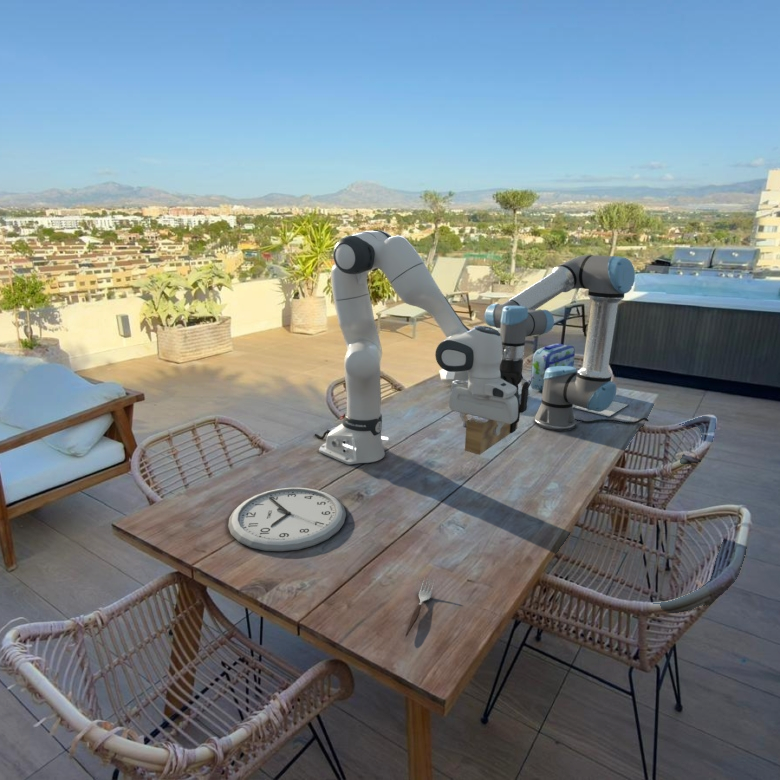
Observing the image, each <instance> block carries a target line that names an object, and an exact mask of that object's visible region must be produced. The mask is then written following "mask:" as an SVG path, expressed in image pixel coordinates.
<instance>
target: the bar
mask: <svg viewBox="0 0 780 780" xmlns="http://www.w3.org/2000/svg"><path fill="white" fill-rule="evenodd" d="M518 423H519V422H518ZM518 423H516V430H517V429H518ZM495 427H496V428H497V427H498V425H497V421H494V420H490V419H486V418H482V417H477V416H473V417H470V418H469V419H468V421H467V423H466V428H465V441H464V451H465V452H469V453H472V454H475V455H478V456H481V455H482V454H483V453H485V452H486V451H487V450H489V449H490V448H492V447H493V446H495V445H496V444H498V443H499V442H501V441H502V440H503V439H505V438H506V437H508V436H509V435H510V434H511V433H510V424H507V423H505V424H504V425H503V426H502V428H501V429H500V434H499V435H498V436H497V435H493V429H494V428H495Z"/></svg>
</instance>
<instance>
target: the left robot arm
mask: <svg viewBox="0 0 780 780" xmlns="http://www.w3.org/2000/svg"><path fill="white" fill-rule="evenodd" d="M332 257H333V262H334V264H333V265H332V267H331V269H330V282H331V283H330V284H331V292H332V298H333V303H334V307H335V312H336V317H337V321H338V326H339V327H340V330H341V333H342V336H343V340H344V343H345V347H346V353H345V355H344V359H343V365H344V379H345V380H344V381H345V389H346V412H345V413H343V414H342V415H340V416H339V420H340V421H341V420H342V423H340V424H339V425H335V426H333V427H331V428H328V429H326V431H324V433H323V434H322V435H319V434H317V433H315V434H314V436H315V437H316V438H318V439H320V440H321V439H325V438H326V439H325V442H324V443H322V445H320V447H319V449H318V452H319V453H320V454H322V455H325V456H327V457H329V458H332V459H334V460H336V461H338V462H341V463H343V464H346V465H356V464H370V463H375V462H378V461H380V460H382V459H383V458H384V457H385V456H386V451H385V449H384V444H383V440H385V441H389V437H388V436H383V435H382V428H383V415H382V413H381V410H382V408H381V405H382V390H381V389H382V388H381V386H382V385H381V364H382V357H383V349H382V344H381V339H380V335H379V332H378V328H377V324H376V320H375V317H374V311H373V310H374V309H373V306H372V300H371V295H370V290H369V285H368V275H369V274H370V272H371V271H372V272H375V271H378V270H380V271H381V272H382V273H383V274H384V276H385V277H386V278H387V281H388V283H389V284H390V286H391V288H392V289H393V291H394V292H395V293H396V295H397V296H398V297H399V298H400V300H402V302H403V303H405V304H406V305H408V306H413V307H416V308H420V309H422V310H424V311H426V312H427V313H428V314H429V315H430V316H431V317H432V318H433V320H434V321H435V323H436V325H437V326H438V327H439V329H440V330H441V331H442V333H443V334H444V336H445V339H444V340H442V341H441V342H440V343H438V345H437V347H436V349H435V354H434V356H435V360H436V363H437V364H438V366H439V367H440V368H441V369H444V370H446V371H449V372H459V371H468V372H469V376H468V382H467V381H461V380H456V381H453V382H452V384H450V396H449V403H448V407H449V409H450V410H451V411H453V412H456V413H459V416H460V419H461V420H462V422H463V423H462V427H463V428H465V429H466V423H467V421H468V420H469V419H468V415H469V416H473V417H475V416H477V417H482V418H486V419H490V420H494V421H497V425H498V427H497V428H496V427H495V428H494V429H493V435H497V436H498V435H499V434H500V429H501V428H502V426H503V425H504V424H505V423H507V424H512V423H513V422H515V421H516V420H517V418H518V400H517V398H516V396H515V395H514V394H515V393H516V392H517V388H516V387H515V386H514V385H512V384H510V383H508V382H506V381H505V380H503V379H501V373H500V364H501V361H502V338H501V334H500V333H499V331H498V329H496V328H494V327H492V326H487V325H476V326H474V327H472V328H469V327H468V326H466V325H465V323H464V322H463V321H462V319H461V318H460V316H459V315H458V313H457V312H456V311H455V309H454V308H453V306H452V305H451V303H450V302H449V300H448V299H447V297H446V296H445V294H444V293H443V292H442V290H441V289H440V287H439V286H438V284H437V282H436V281H435V278H434V277H433V276H432V274H431V272H430V271H429V269H428V267H427V265H426V264H425V262H424V261H423V259H422V257H421V255H420V254H419V253H418V252H417V250H416V249H415V247H414V246H413V245H412V244H411V243H410V242H409V240H408V239H407V238H405V237H404V236H402V235H393V236H392V234H391V235H390V234H389V233H388V232H386V231H385V230H379V229H374V230H364V231H359V232H358V233H355V234H352V235H351V234H350V235H346V236H344V237H342V238H341V239H339V240H338V241H337V243H335V245H334V247H333V252H332ZM454 382H456V383H454ZM326 435H327V436H326Z"/></svg>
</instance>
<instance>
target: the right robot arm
mask: <svg viewBox="0 0 780 780" xmlns="http://www.w3.org/2000/svg"><path fill="white" fill-rule="evenodd" d="M635 271H636V270H635V268H634V265H633V263H632V261H631V260H630V259H629V258H627V257H623V256H617V255H595V254H594V255H593V254H584V255H579V256H576V257H573V258H571V259H569V260H566V261H564V262H563V263H561V264H559V265H557V266H556V267H554V268H553V269H552V270H551V273H550V274H548V275H546V276H545V277H543V278H542V279H540V280H539V281H537V282H536V283H534V284H532V285H531V286H529V287H527V288H526V289H524V290H523V291H521V292H519V293H518V294H516V295H514V296H513V297H512V298H510V299H508V300H507V301H505V302H503V303H501V304H500V303H492V304H489V305H488V306H487V308H486V310H485V311H484V320H485V323H486V324H487V325H488V326H489V327H492V328H495V329H498V328H500V334H501V338H502V361H501V364H500V373H501V379H503V380H505V381H506V382H508V383H510V384H512V385H514V386H515V387H516V388H517V392H516V393H515V394H514V395H515V396H516V398H517V400H518V418H517V420H516V421H515V422H513V423H512V424H510V434H513V433H515V432H516V431H517V429H516V423H519V422H520V418H521V414H523V413H524V412H526V411H527V409H528V399H529V398H528V397H529V396H528V390H529V389H530V387H531V379H529V380H527V379H526V378H525V379H523V376H522V371H523V369H524V368H523V367H524V360H523V358H524V357H525V346H526V345H525V344H526V337H533V336H541V335H544V334H547V333H549V332H550V331H552V329H553V327H554V325H555V318H554V315H553V314H552V313H551V311H549V310H548V309H540V307H542V306H543V305H545V304H547V303H548V302H549V301H552V300H553V299H554V298H556V297H558V296H559V295H560V294H562V293H568V292H571V291H572V290H576V289H583V290H588V291H587V297H588V298H589V299H590V300H591V302H590V311H589V316H588V324H587V331H586V339H585V346H584V352H583V359H582V366H581V367H580V368H579V369H578V368H577V367H576V366H573V367H571V366H555V367H549V368H547V369H546V371H545V375H544V378H543V379H544V382H543V390H541V391H542V394H541V402H540V405H539V407H538V410H537V411H536V413H535V416H534V424H535V425H536V426H537V427H539V428H542V429H544V430H549V431H556V432H567V431H572V430H574V429H575V428H576V422H579V423H585V424H591V423H598V422H612V423H619V424H625V425H635V424H638V423H640V422H642V421H646V422H650V421H649V419H648V418H646V417H642V418H640V419H638V420H636V421H625V420H618V419H612V418H599V419H594V420H584V419H580V418H575V417H576V416H575V413H574V407H573V406H575V407H576V406H580V407H583V408H586V409H588V410H593V411H597V412H601V411H604V410H605V409H607V408H608V407H609V406H610V404H611V403H612V401H614V400H615V398H616V394H617V384H616V383H615V382H614V381H612V373H611V372H610V371H609V364H610V358H611V352H612V346H613V339H614V333H615V327H616V321H617V314H618V307H619V303H620V302H621V301H622V300H624V299H625V294H628V293H629V292H630V291H631V290H632V288H633V286H634V284H635V279H636V274H635V273H636V272H635ZM521 383H522V384H521ZM519 384H520V385H521V393H520V394H519Z"/></svg>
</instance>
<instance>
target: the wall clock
mask: <svg viewBox="0 0 780 780" xmlns="http://www.w3.org/2000/svg"><path fill="white" fill-rule="evenodd" d="M346 518H347V513H346V509H345V506H344V505H343V503H341V501H340V500H339V499H338V498H336V497H334V496H332V495H331V494H330V493H327V492H324V491H321V490H318V489H313V488H308V487H283V488H277V489H272V490H267V491H264V492H261V493H258V494H255V495H253V496H252V497H250V498H248V499H246V500H244V501H243V502H242V503H240V504H239V505H238V506H237V507H236V508H234V510H233V511H232V513H231V514H230V516H229V518H228V524H227V528H228V530H229V532H230V535H231V536H232V538H234V539H235V540H236V541H237V542H238V543H239V544H242V545H244V546H246V547H249V548H251V549H256V550H261V551H266V552H287V551H288V552H289V551H299V550H302V549H306V548H310V547H313V546H316V545H318V544H320V543H323V542H325V541H328V540H329V539H330V538H332V537H333V536H334V535H336V534H337V533H339V531H340V530H341V528H342V527H343V526H344V524H345V521H346Z"/></svg>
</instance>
